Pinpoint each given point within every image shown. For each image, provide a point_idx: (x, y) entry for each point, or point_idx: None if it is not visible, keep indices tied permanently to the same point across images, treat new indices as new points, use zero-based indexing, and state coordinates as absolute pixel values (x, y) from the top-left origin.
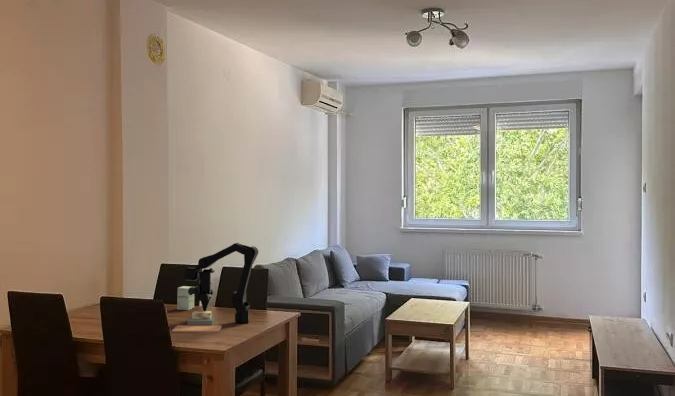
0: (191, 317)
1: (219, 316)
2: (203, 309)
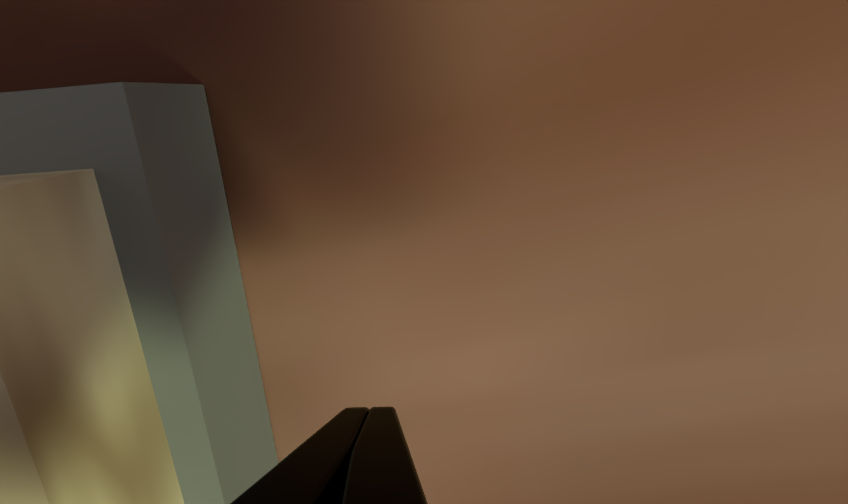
0: (17, 120)
1: (841, 490)
2: (314, 447)
